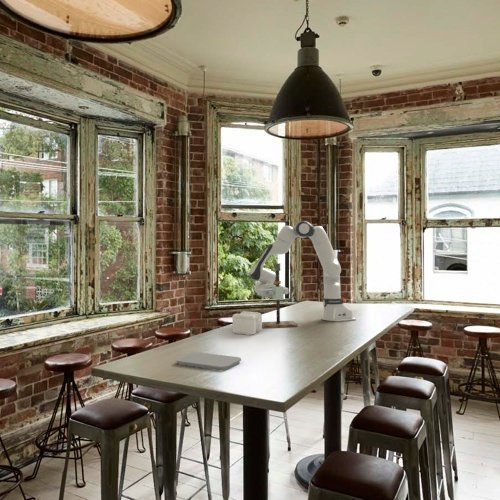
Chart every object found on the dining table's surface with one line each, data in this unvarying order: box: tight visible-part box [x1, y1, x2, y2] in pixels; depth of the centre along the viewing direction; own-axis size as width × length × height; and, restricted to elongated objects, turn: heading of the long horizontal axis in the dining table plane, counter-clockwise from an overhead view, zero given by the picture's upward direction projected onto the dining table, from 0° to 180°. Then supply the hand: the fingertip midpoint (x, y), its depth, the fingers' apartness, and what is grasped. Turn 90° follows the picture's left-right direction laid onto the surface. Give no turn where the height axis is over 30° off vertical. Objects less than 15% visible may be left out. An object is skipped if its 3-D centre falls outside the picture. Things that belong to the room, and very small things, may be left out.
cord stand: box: [262, 263, 299, 329], centre depth 282 cm, size 22×13×39 cm, turn 99°
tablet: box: [175, 351, 242, 371], centre depth 198 cm, size 16×26×2 cm, turn 62°
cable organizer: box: [231, 310, 263, 336], centre depth 262 cm, size 15×11×12 cm
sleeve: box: [272, 285, 284, 301], centre depth 282 cm, size 5×5×8 cm
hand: (278, 292), depth 282 cm, fingers closed on sleeve, 5 cm apart
